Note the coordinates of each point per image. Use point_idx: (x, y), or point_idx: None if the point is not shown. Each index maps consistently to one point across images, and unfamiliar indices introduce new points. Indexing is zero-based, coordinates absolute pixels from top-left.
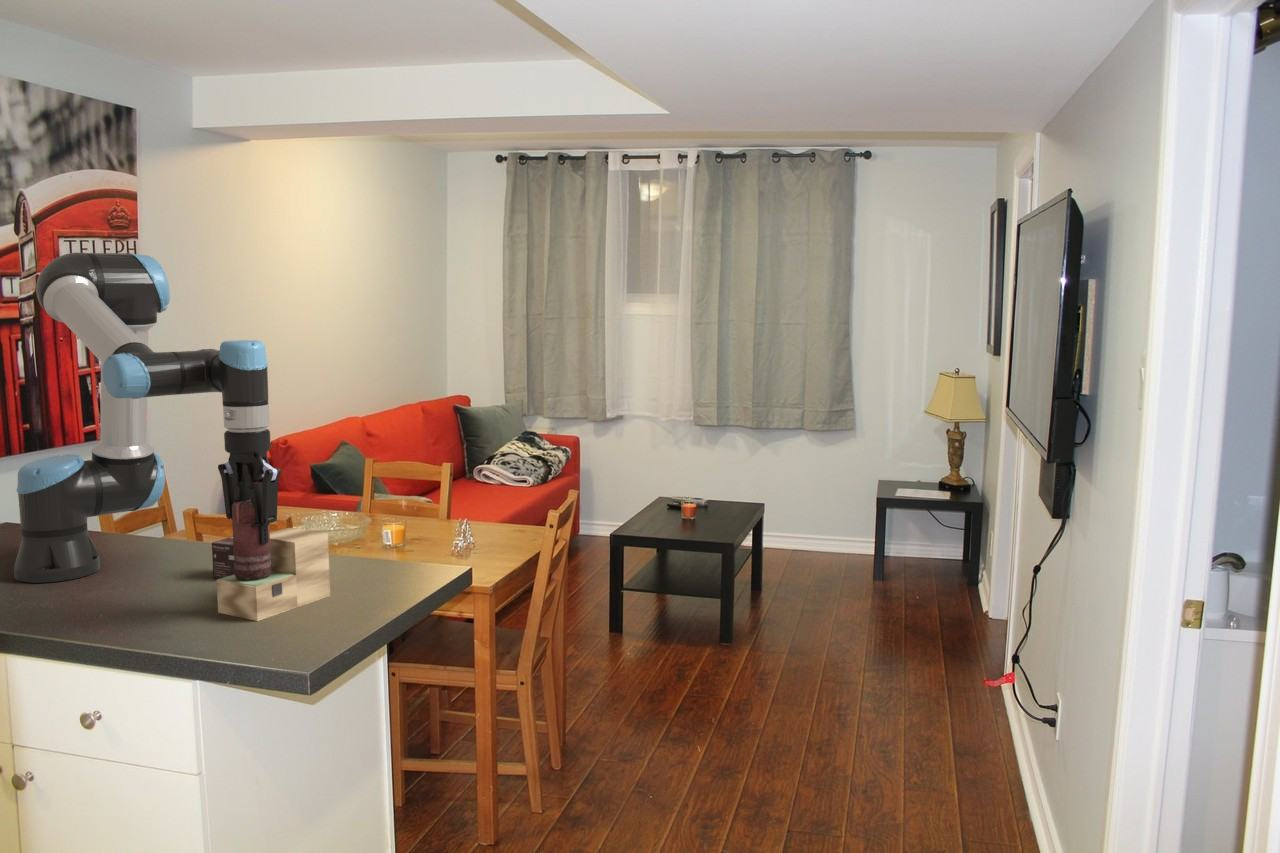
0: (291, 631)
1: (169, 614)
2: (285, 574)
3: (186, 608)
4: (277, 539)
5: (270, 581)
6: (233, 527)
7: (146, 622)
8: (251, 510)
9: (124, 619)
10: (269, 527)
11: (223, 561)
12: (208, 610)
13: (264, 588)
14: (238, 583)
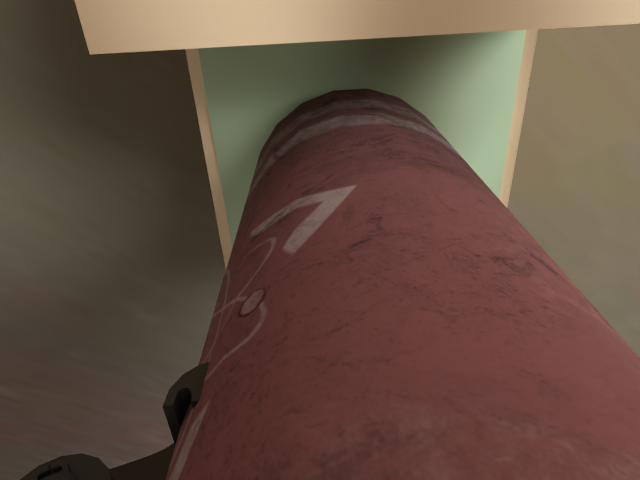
0: (635, 210)
1: (134, 299)
2: (481, 44)
3: (108, 240)
4: (430, 26)
5: (501, 188)
6: None
7: (162, 364)
8: None
9: (85, 377)
10: (559, 268)
11: None
12: (192, 215)
13: None
14: None
